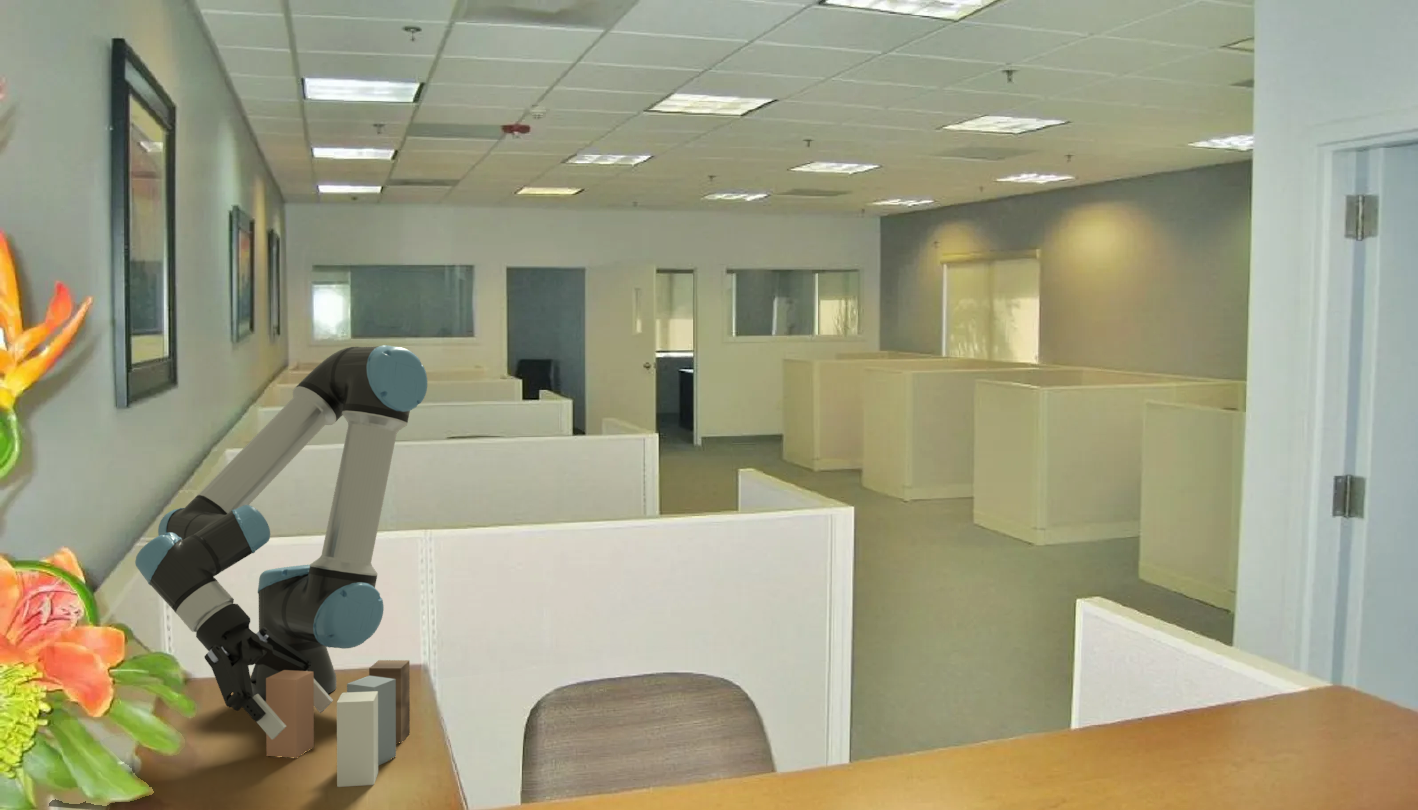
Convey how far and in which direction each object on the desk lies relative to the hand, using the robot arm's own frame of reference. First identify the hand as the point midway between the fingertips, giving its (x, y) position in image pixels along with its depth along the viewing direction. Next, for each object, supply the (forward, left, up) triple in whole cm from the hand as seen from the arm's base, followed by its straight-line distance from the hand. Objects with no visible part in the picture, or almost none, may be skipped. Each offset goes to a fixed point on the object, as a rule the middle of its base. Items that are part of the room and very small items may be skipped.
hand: (304, 719), depth 172 cm
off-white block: (+9, +14, -5) cm, 17 cm away
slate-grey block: (+1, +12, -5) cm, 13 cm away
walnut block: (-9, +10, -5) cm, 14 cm away
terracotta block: (0, -2, -5) cm, 6 cm away
